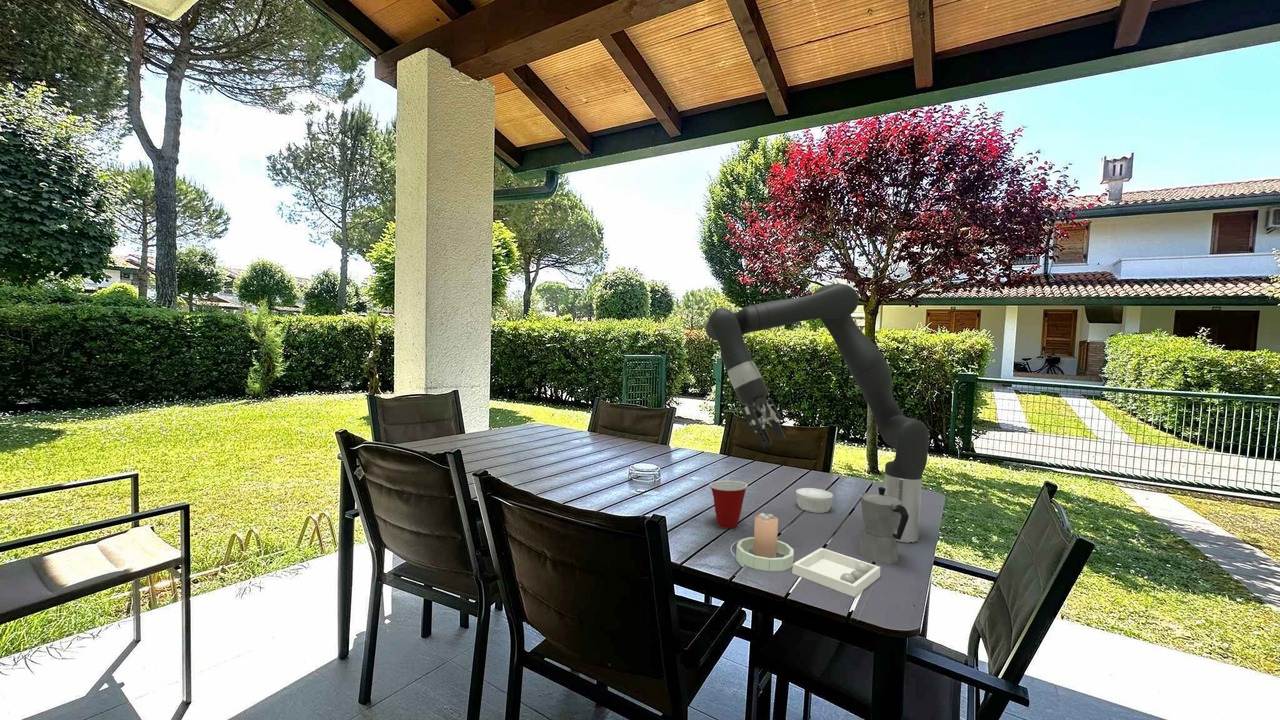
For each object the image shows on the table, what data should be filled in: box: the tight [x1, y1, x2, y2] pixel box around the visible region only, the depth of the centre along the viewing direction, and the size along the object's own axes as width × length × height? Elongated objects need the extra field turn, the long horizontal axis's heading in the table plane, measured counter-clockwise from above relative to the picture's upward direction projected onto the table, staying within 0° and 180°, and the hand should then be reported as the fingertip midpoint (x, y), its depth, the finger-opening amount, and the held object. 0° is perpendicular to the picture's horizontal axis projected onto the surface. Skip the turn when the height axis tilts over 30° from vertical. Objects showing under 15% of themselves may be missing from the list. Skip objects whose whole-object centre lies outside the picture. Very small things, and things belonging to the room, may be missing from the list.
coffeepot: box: [857, 486, 909, 565], centre depth 127 cm, size 15×9×18 cm, turn 14°
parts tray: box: [791, 547, 881, 598], centre depth 117 cm, size 14×14×4 cm
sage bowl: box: [735, 536, 795, 572], centre depth 124 cm, size 13×13×4 cm
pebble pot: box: [752, 512, 779, 558], centre depth 124 cm, size 5×5×11 cm
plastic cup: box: [709, 480, 749, 529], centre depth 148 cm, size 11×11×12 cm
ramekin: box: [795, 487, 834, 514], centre depth 166 cm, size 11×11×5 cm
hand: (775, 442), depth 129 cm, fingers open, 8 cm apart
